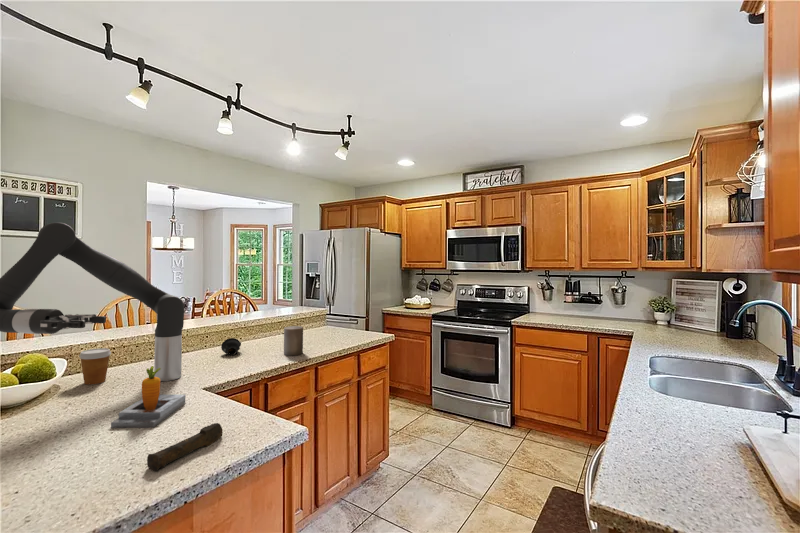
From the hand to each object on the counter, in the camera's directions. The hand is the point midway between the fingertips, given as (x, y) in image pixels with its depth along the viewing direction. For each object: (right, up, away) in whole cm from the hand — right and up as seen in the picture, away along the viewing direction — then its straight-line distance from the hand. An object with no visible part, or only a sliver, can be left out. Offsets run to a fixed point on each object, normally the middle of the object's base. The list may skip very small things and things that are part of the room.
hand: (95, 321), depth 114 cm
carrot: (+17, -29, 0) cm, 33 cm away
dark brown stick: (+41, -30, -21) cm, 55 cm away
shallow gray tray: (+18, -28, 0) cm, 33 cm away
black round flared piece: (+7, -28, +78) cm, 83 cm away
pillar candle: (+38, -28, +79) cm, 92 cm away
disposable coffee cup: (-23, -27, +28) cm, 45 cm away
